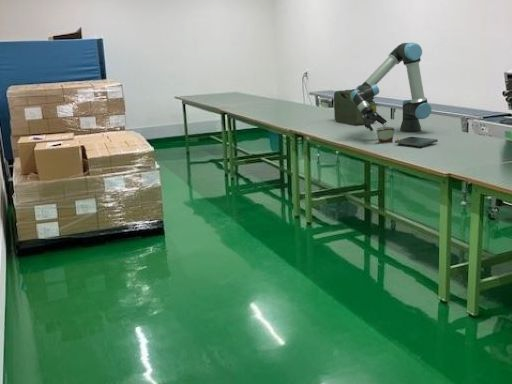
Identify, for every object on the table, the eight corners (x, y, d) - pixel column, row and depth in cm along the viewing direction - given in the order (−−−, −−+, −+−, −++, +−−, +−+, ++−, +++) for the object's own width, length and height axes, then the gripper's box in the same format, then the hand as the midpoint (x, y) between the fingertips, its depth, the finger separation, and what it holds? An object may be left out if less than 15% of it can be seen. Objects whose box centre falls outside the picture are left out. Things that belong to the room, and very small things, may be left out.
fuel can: (357, 126, 436) (356, 92, 429) (334, 121, 468) (333, 90, 460) (376, 123, 444) (376, 90, 436) (352, 119, 475) (352, 88, 468)
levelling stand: (411, 140, 361) (411, 135, 360) (437, 144, 346) (437, 137, 345) (394, 145, 351) (394, 139, 350) (420, 148, 335) (420, 142, 334)
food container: (390, 140, 366) (390, 126, 363) (394, 142, 360) (394, 127, 357) (373, 142, 364) (373, 127, 361) (377, 144, 358) (377, 129, 356)
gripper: (374, 110, 378) (391, 133, 370) (350, 114, 364) (366, 138, 356) (380, 103, 372) (397, 126, 365) (355, 107, 358) (373, 131, 350)
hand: (382, 132), depth 360 cm, fingers open, 13 cm apart
